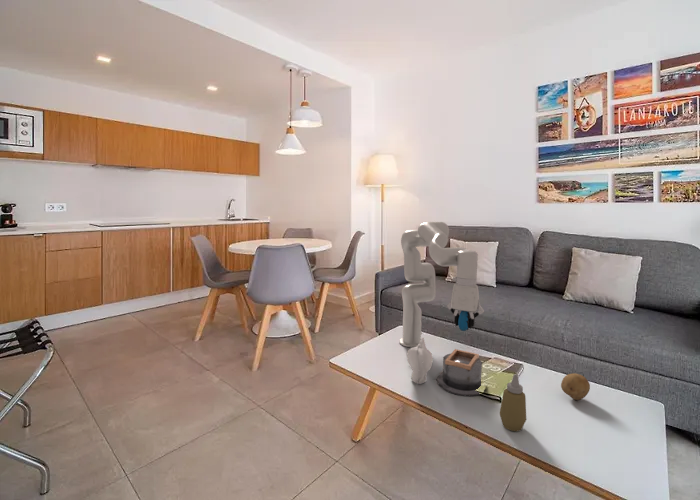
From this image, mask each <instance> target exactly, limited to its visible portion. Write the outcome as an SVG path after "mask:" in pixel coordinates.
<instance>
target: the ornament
mask: <svg viewBox="0 0 700 500" xmlns="http://www.w3.org/2000/svg"><path fill="white" fill-rule="evenodd" d="M459 315H460V316H459V320H458V326H457V327H458V328H459V330H460V331H462V332H465V331H469V329H470V328H469V319H470V318H471V315H470V312H467V311H461V310H460V312H459Z"/></svg>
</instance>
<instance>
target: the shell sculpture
mask: <svg viewBox="0 0 700 500" xmlns="http://www.w3.org/2000/svg"><path fill="white" fill-rule="evenodd" d="M424 338H425V337H421V340H420V342H421V344H420V343H419V344H418V345H417V346H416V347H414V348H412V347H410V348H409V349H408V350H407V354H406V358H407V364H408V365H409V367H410V368H411V370H412V373H411V376H410V377H411V378H410V379H411V381H412V382H414V383H415V384H417V385H421V384H424V383H425V382H427V374H428V371H430V370H431V368H432V365H433V360H434V358H433V354H432V352H431V351H430V350H429V349H428V348H427V345H426V342H425V339H424Z"/></svg>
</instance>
